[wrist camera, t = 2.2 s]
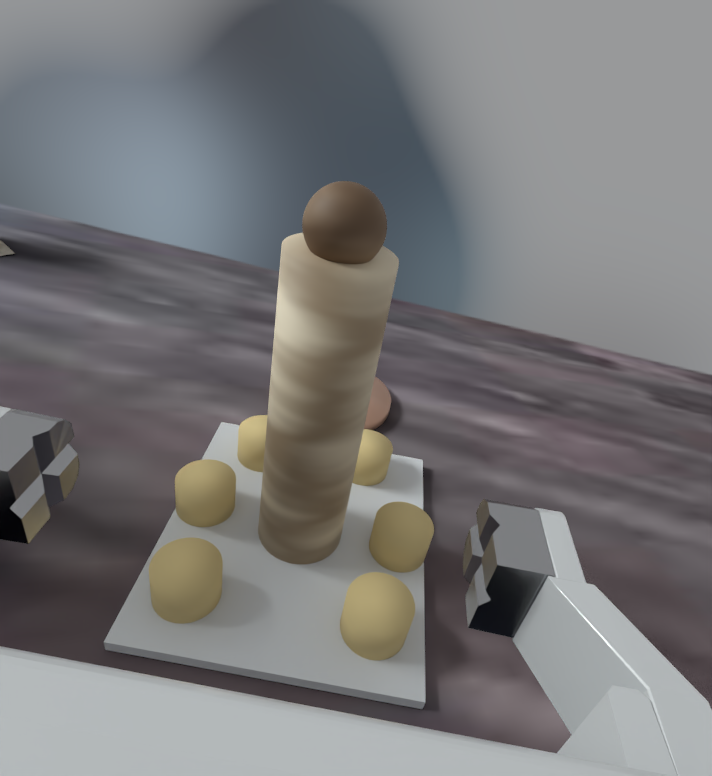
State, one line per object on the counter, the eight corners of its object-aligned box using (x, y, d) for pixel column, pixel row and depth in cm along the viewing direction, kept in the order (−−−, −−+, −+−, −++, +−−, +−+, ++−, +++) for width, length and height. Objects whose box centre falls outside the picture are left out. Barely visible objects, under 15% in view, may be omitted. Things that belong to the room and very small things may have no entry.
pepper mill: (248, 555, 27) (274, 184, 17) (269, 493, 31) (300, 160, 21) (335, 571, 27) (413, 210, 17) (345, 507, 31) (414, 181, 21)
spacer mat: (102, 649, 23) (96, 613, 21) (220, 428, 36) (220, 397, 35) (424, 709, 23) (439, 678, 21) (422, 466, 36) (431, 437, 35)
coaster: (262, 422, 37) (263, 413, 37) (288, 361, 45) (289, 353, 45) (386, 446, 37) (388, 437, 37) (391, 380, 45) (393, 372, 45)
